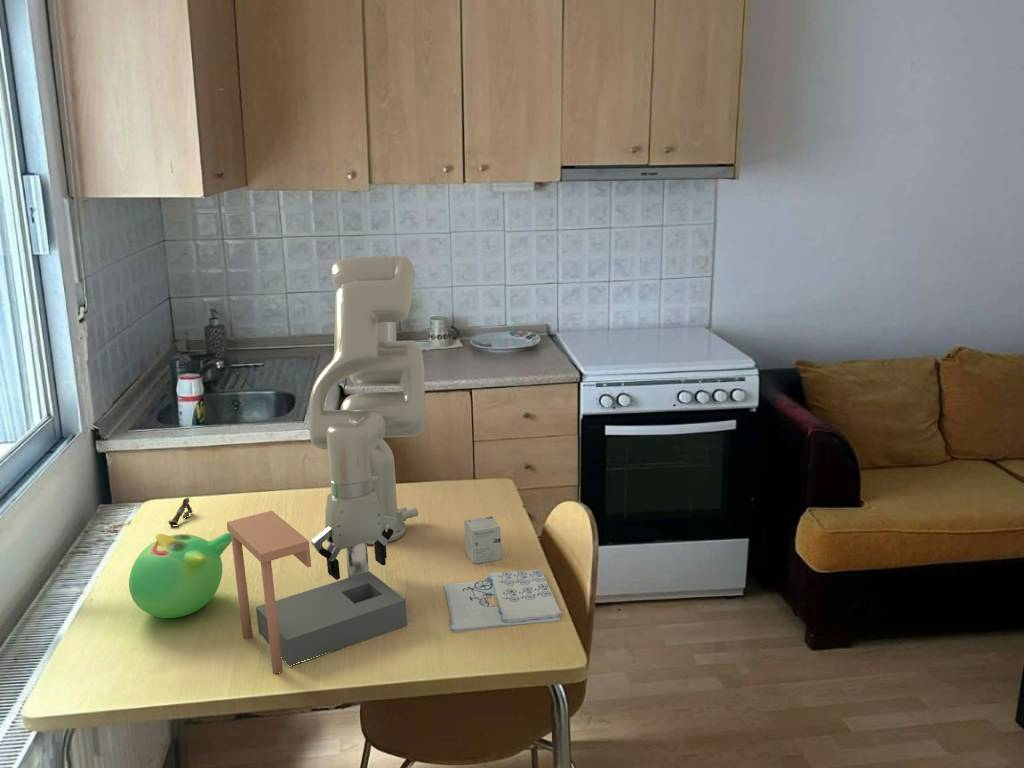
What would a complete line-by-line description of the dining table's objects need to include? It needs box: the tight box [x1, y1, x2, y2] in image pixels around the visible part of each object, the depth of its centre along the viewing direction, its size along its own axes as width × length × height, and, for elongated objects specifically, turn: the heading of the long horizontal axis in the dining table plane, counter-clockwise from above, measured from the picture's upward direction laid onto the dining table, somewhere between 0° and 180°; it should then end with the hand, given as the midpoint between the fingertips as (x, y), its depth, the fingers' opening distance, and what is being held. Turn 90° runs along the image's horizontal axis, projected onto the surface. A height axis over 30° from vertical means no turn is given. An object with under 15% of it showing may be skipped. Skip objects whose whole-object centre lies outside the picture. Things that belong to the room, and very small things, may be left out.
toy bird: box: [128, 531, 232, 619], centre depth 174 cm, size 18×17×15 cm
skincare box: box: [463, 516, 502, 565], centre depth 193 cm, size 6×6×7 cm
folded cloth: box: [442, 569, 562, 633], centre depth 175 cm, size 19×20×2 cm
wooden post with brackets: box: [167, 497, 193, 526], centre depth 217 cm, size 2×8×4 cm, turn 168°
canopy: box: [226, 510, 312, 674], centre depth 159 cm, size 8×16×22 cm, turn 35°
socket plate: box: [255, 570, 408, 667], centre depth 167 cm, size 22×14×5 cm, turn 125°
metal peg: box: [345, 542, 370, 578], centre depth 182 cm, size 4×4×10 cm
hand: (358, 569), depth 182 cm, fingers open, 9 cm apart
